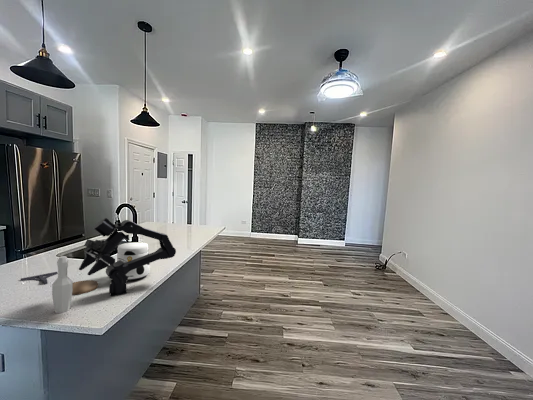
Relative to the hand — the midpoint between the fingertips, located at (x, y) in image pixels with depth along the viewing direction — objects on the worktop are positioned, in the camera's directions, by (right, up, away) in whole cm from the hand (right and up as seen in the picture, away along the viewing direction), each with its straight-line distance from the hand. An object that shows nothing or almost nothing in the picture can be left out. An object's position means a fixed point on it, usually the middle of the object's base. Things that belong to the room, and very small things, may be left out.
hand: (83, 272), depth 105 cm
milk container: (+3, -12, +32) cm, 35 cm away
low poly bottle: (-4, -14, -6) cm, 16 cm away
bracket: (-38, -11, +22) cm, 45 cm away
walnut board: (-12, -12, +14) cm, 22 cm away
